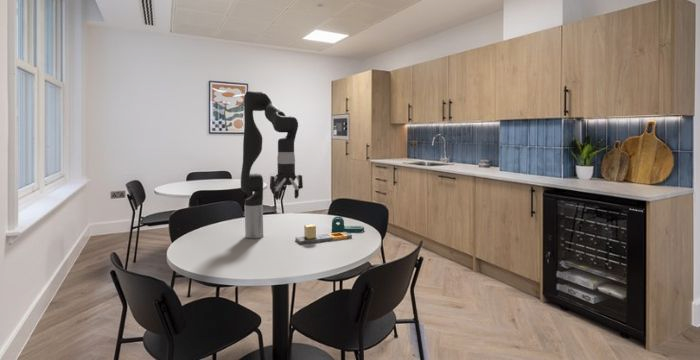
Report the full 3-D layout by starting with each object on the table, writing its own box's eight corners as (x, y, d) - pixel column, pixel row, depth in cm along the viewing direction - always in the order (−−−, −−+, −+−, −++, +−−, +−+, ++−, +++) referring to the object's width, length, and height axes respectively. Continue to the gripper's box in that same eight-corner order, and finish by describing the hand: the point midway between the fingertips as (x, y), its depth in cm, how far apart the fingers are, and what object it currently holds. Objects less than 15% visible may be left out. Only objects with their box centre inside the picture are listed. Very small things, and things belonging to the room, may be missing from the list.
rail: (295, 240, 200) (295, 237, 199) (345, 234, 212) (345, 231, 212) (300, 244, 192) (300, 241, 192) (351, 238, 205) (351, 235, 204)
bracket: (331, 232, 217) (331, 218, 216) (332, 229, 223) (332, 216, 222) (364, 232, 217) (364, 218, 216) (363, 229, 224) (363, 216, 223)
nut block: (304, 240, 200) (304, 225, 199) (312, 239, 202) (312, 224, 201) (307, 242, 196) (307, 227, 195) (316, 241, 198) (315, 226, 197)
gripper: (299, 161, 178) (299, 196, 180) (268, 162, 172) (268, 198, 174) (304, 162, 171) (304, 199, 173) (272, 163, 165) (272, 201, 168)
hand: (286, 198), depth 174 cm, fingers open, 8 cm apart
